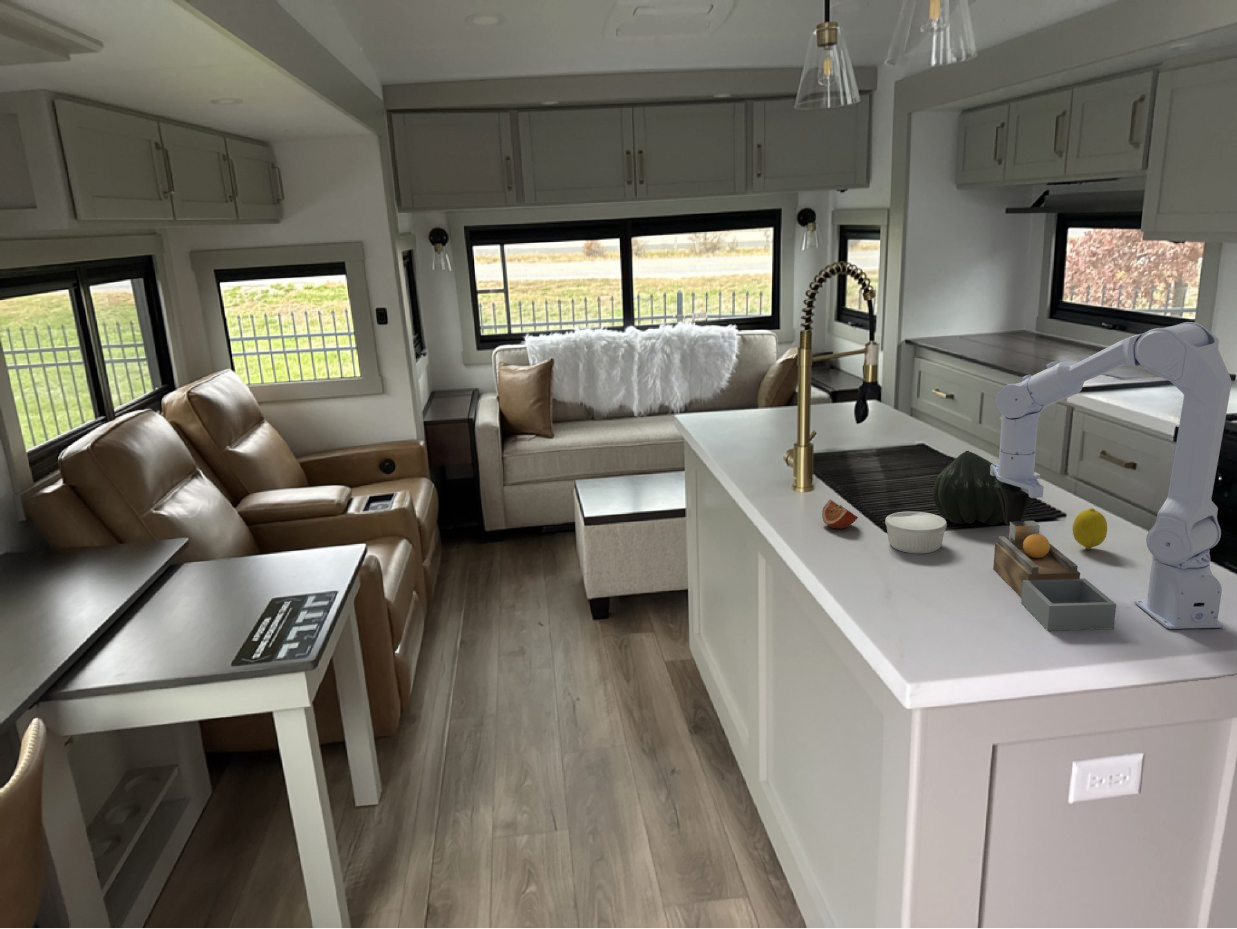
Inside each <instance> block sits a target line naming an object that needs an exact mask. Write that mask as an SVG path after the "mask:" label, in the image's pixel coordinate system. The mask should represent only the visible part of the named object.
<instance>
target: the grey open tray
mask: <svg viewBox="0 0 1237 929" xmlns="http://www.w3.org/2000/svg"><path fill="white" fill-rule="evenodd" d="M1020 598H1021V597H1020ZM1020 601H1021V602H1020V605H1022V606H1023V607H1024V608H1025V609H1026V610H1027V611H1028V612H1029V613H1030V614H1031V615H1032V617H1033V618H1034V619H1036V620H1037V621H1038V622H1039V623H1040V624H1041V625H1042V626H1043V628H1044V629H1046V630H1047V631H1077V629H1079V630H1078V631H1082V630H1081V629H1087V630H1114V629H1115V619H1116V612H1117V603H1116V602H1115V601H1113V600H1112V599H1111V598H1109V597H1108V596H1107V595H1106V594H1104V592H1102V591H1101V590H1100V589H1098V588H1097V587H1096V586H1095V585H1094V584H1092V583H1091V582H1090V581H1089V580H1088V579H1086V577H1085V578H1084V577H1083V578H1082V577H1080V579H1049V580H1023V585H1022V598H1021V600H1020Z"/></svg>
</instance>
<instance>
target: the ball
mask: <svg viewBox="0 0 1237 929" xmlns="http://www.w3.org/2000/svg"><path fill="white" fill-rule="evenodd" d="M1049 543H1050V541H1049V540H1048V538H1047V537H1045V536H1044V535H1042V534H1040V533H1039V534H1032V535H1029V536H1028V537H1027V538H1026V539H1025V540H1024V543H1023V548H1024V551H1025V552H1026V554H1027V555H1029V556H1031V557H1033V558H1041V557H1043V556H1045V555H1046V554H1047V553H1048V552H1049V549H1050V544H1051V543H1050V544H1049Z"/></svg>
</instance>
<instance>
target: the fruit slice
mask: <svg viewBox="0 0 1237 929" xmlns="http://www.w3.org/2000/svg"><path fill="white" fill-rule="evenodd" d="M821 512H822V513H821V517H822V521H823V523H824V524H825V525H827V526H828V527H830V528H833V529H836V528H837V529H838V528H840V529H845V528H847V527H849V526H851V525H852V524H854V523H855V522H856V521H857V520H858V518H859V517H858V515H855V514H854V513H853V512H851V511H850V510H848V509H847V508H846V507H843V505H842V504H839V503H836V502H835V501H833V499H828V501H827V502H826V503H825V505H824V506H823V507H822V511H821Z"/></svg>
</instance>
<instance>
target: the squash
mask: <svg viewBox="0 0 1237 929" xmlns="http://www.w3.org/2000/svg"><path fill="white" fill-rule="evenodd" d="M993 464H994V463H993V462H990V461H989V460H987V459H985V458H984V457H982V456H980V455H979V454H977V453H974V452H972V451H970V450H965V451H964V452H962V453H961V454H959V455H958V456H957V457H955V459H954V460H953V461H952V462H950V463H949V464H948V465H947V466H946V467H945V468H944V469H943V470H942V471H941V472H940V473H939V474H938V476H937V477H936V479H935V480H934V481H935V482H934V484H933V489H932V490H933V491H932V497H933V502H934V504H935V507H936V509H937V510H938V513H940V514H941V515H942V516H943V518H945V519H948V521H950V523H954V524H958V525H963V524H966V523H968V524H973V523H975V522H976V521H977V522H980V523H981V522H982V523H983V524H985V525H988V526H993V525H998V524H1000V523H1002V522H1004V517H1003V512H1002V507H1001V503H1000V500H999V497H998V495H997V492H996V491H995V489H994V485H996V484H1002V482H1001V481H999V480H998V479H997V478H996V476H992V475H990V466H991V465H993Z"/></svg>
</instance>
